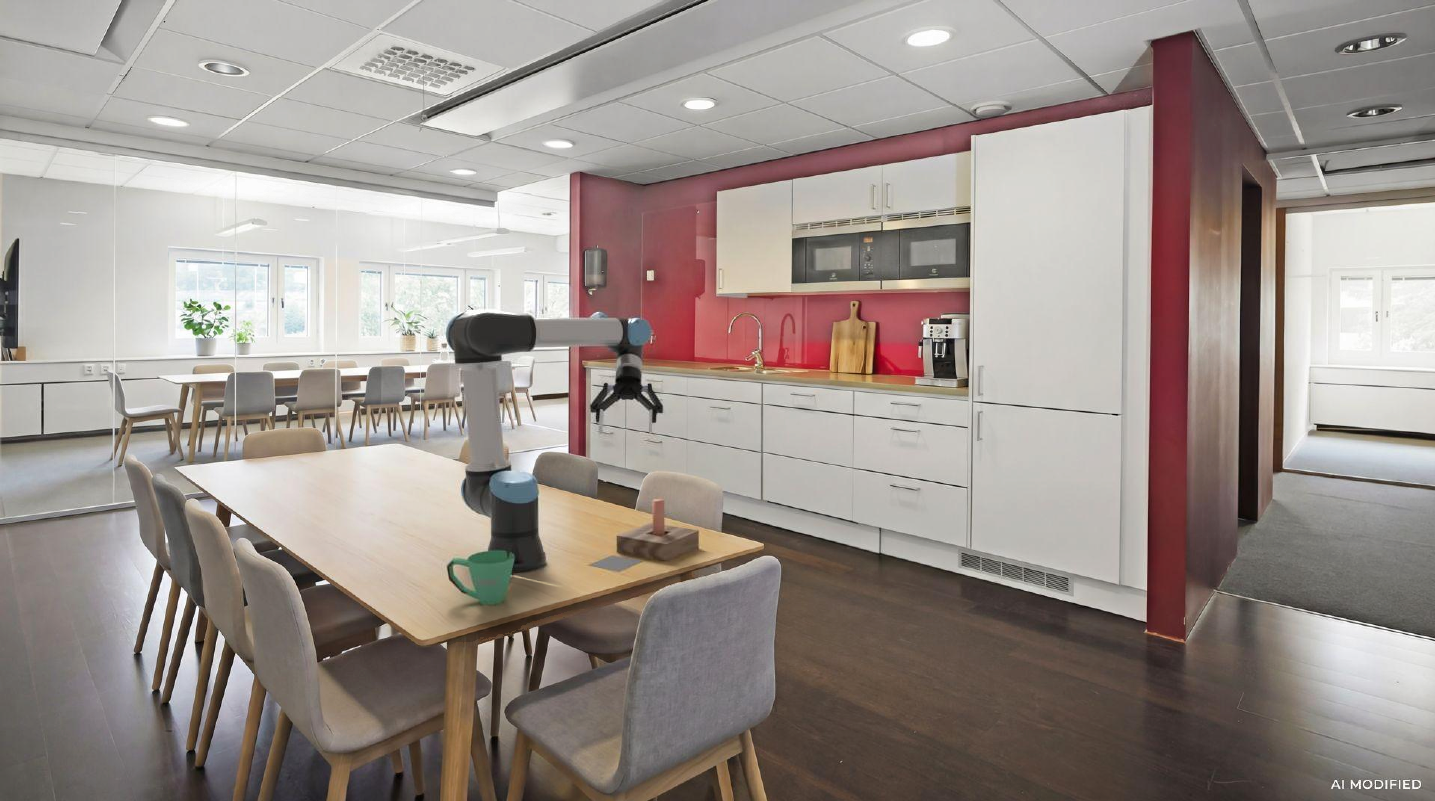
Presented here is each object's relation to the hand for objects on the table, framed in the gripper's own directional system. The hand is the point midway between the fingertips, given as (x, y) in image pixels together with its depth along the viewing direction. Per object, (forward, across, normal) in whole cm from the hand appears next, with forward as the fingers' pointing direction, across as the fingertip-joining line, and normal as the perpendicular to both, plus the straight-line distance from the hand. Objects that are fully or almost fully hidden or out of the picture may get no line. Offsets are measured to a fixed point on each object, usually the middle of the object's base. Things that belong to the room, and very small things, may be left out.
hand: (625, 430), depth 203 cm
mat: (+34, +1, -12) cm, 36 cm away
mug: (+52, +29, +6) cm, 60 cm away
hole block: (+26, -9, -20) cm, 34 cm away
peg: (+26, -9, -20) cm, 34 cm away
